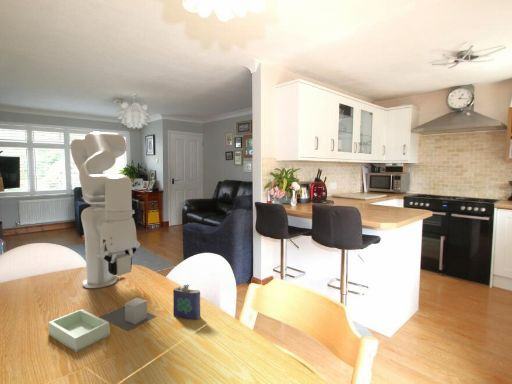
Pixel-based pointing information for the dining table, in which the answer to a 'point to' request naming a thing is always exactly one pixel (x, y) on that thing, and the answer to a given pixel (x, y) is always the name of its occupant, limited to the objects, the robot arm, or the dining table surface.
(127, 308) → the grey block
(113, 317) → the mat
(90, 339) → the bin
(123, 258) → the stone
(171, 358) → the dining table surface
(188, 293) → the flask
